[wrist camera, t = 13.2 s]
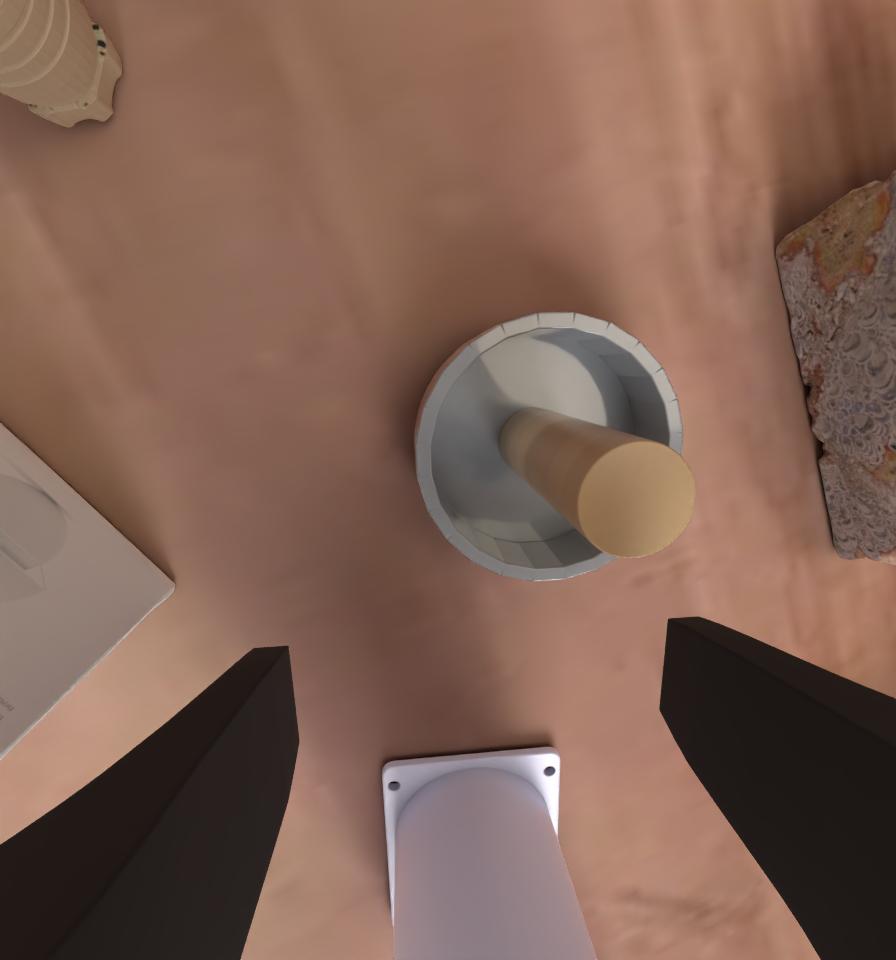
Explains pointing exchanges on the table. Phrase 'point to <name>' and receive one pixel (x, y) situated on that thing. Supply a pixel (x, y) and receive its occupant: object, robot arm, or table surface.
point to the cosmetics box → (59, 589)
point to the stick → (602, 480)
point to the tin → (500, 394)
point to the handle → (57, 60)
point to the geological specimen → (850, 359)
